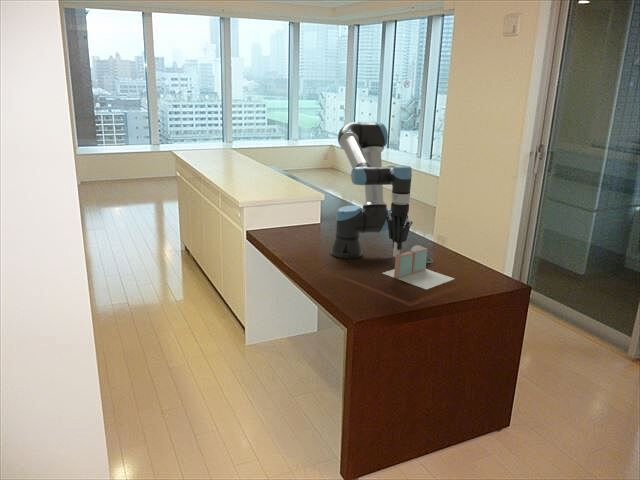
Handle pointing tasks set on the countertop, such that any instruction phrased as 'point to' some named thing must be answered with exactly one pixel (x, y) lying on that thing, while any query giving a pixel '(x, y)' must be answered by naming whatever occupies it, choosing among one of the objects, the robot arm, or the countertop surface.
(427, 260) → the ceramic mug
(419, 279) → the stone board
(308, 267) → the countertop surface
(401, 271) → the tile
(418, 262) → the tile
